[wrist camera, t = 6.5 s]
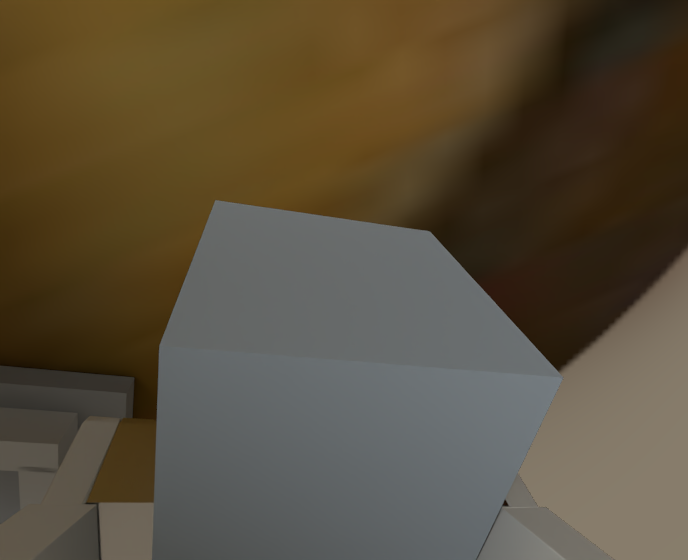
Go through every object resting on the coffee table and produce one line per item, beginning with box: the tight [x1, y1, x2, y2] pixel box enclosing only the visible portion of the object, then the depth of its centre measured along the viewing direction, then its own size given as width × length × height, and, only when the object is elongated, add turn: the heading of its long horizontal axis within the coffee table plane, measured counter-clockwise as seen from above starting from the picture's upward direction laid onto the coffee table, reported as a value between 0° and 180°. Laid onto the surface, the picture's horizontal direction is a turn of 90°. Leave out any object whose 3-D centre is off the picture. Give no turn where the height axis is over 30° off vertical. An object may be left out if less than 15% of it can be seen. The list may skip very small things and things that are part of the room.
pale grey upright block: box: [152, 200, 563, 560], centre depth 8 cm, size 8×4×4 cm, turn 169°
